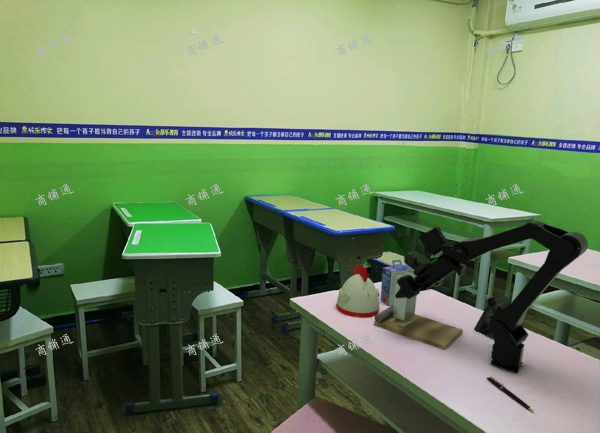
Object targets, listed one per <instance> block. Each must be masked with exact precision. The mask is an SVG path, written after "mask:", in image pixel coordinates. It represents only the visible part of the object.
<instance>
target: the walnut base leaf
mask: <svg viewBox="0 0 600 433" xmlns="http://www.w3.org/2000/svg"><path fill="white" fill-rule="evenodd" d="M393 307H394V305H390V306H389V307H387V308H385V309H384V310H382V311H381V312H380V311H379V313H378V314H377V315H375V316H374V321H373V325H374V326H376V327H378V328H381V329H384V330H387V331H391V332H393V333H395V334H398V335H401V336H404V337H407V338H409V339H413V340H415V341H418V342H421V343H424V344H427V345H429V346H432V347H435V348H438V349H441V350H443V351H446V349H447V348H449V347H450V346H451V344H453V343H454V342H455V341H456V340H457V339H458V338H459V337H461V335H463V332H464V329H463V328H459V327H456V326H453V325H450V324H447V323H443V322H440V321H437V320H435V319H431V318H427V317H424V316H421V315H418V314H415V315H414V316H413V317H411V318H409V319H407V320H405V321H403V320H400V319H398V318H395V317H393Z"/></svg>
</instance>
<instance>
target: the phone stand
mask: <svg viewBox="0 0 600 433" xmlns="http://www.w3.org/2000/svg"><path fill="white" fill-rule="evenodd" d="M506 301H508V302H509V301H510V299H509V298H508V296H507V295H504V294H499V295H495V296H491V297H489V298H488V299H487V300H486V306H485V309H484V310H483V312H482V314H481V315H480V317H479V318H478V321H477V322H476V324H475V326H474V328H473V330H475V331H474V332H475V333H478V332H479V333H478V334H480V333H481V334H480V335H482V334H483V335H482V336H484V335H485V337H486V338H488V337H489V338H488V339H491V338H492V339H491V340H493V339H494V338H493V334H492V332H491V331H490V328H489V321H490V320H491V318H489V317H490V316H491V315H493V314H494V313H495V311H496V309H497V307H498V306H499V305H501V304H502V303H504V302H506Z"/></svg>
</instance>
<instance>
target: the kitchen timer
mask: <svg viewBox="0 0 600 433" xmlns="http://www.w3.org/2000/svg"><path fill="white" fill-rule="evenodd" d="M352 270H353V275H352V276H350V277H349V278H348V279H347V280H346V281H345V282H344V283H343V285H342V287H341V288H339V290H338V296H337V299H336V306H335V307H336V309H337V311H338V312H339V313H341V314H343V315H345V316H348V317H351V318H359V319H362V318H363V319H366V318H367V319H368V318H372V317H375V315H377V314H379V313H380V306H381V305H380V299H379V297H380V290H379V288H376V286H375V284H374V282H373V281H372V280H371V279H370V278H369V276H370V273H368V272H367V271H368V268H365V266H364V265H362V264H358V265H357V266H355V267H354V268H353V269H352Z"/></svg>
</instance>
